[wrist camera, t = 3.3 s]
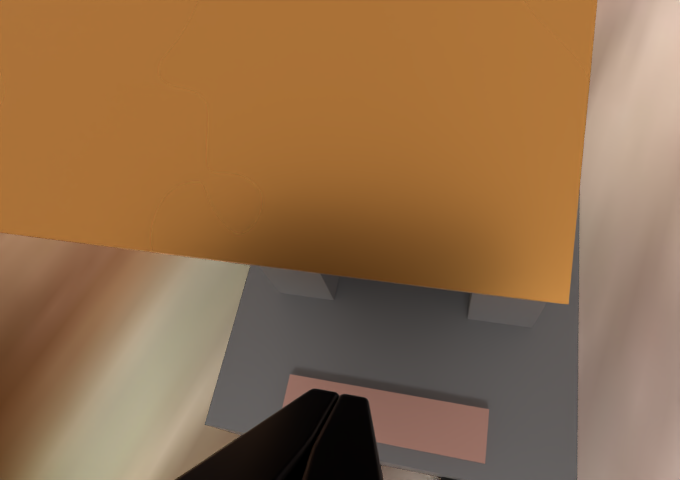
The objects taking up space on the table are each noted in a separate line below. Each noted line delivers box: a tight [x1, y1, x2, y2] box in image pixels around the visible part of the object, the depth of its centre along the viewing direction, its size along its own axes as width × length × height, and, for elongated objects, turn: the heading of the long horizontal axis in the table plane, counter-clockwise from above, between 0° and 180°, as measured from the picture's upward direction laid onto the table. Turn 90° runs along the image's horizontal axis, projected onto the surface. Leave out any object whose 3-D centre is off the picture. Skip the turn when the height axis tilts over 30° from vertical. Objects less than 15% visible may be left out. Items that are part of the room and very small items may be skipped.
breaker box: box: [205, 188, 580, 480], centre depth 15 cm, size 10×9×5 cm
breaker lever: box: [0, 0, 597, 305], centre depth 9 cm, size 2×4×11 cm, turn 78°
